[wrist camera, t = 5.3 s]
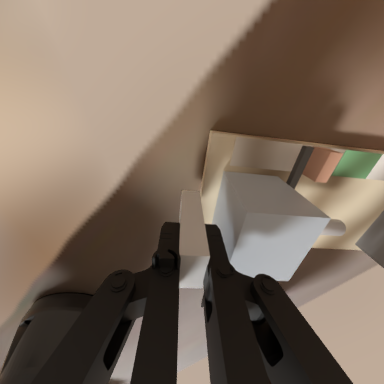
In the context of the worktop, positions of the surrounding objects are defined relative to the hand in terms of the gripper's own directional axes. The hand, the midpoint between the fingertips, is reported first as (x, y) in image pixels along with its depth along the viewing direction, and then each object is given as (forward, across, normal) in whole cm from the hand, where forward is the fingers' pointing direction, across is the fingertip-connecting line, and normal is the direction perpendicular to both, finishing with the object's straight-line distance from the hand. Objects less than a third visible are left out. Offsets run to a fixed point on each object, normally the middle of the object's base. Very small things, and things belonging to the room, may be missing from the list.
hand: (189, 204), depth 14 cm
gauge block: (+1, +8, +1) cm, 8 cm away
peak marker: (+1, +10, +5) cm, 11 cm away
